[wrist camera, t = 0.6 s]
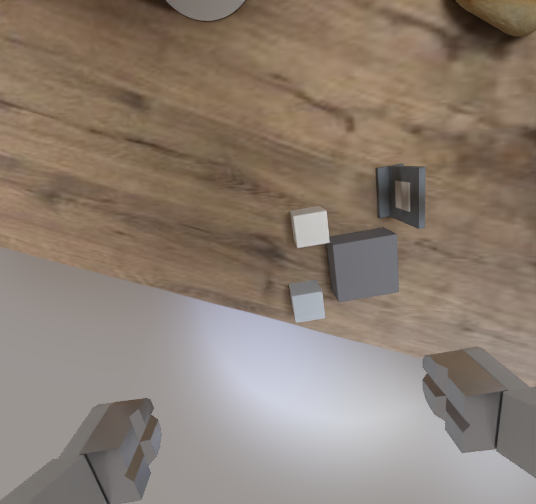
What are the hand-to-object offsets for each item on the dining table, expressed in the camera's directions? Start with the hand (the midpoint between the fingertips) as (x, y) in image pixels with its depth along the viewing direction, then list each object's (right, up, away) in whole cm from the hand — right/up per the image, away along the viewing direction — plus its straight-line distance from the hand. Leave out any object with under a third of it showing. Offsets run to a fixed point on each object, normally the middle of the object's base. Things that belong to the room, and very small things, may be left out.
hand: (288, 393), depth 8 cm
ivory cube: (+6, +9, +39) cm, 41 cm away
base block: (+15, +3, +42) cm, 45 cm away
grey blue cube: (+6, -3, +43) cm, 44 cm away
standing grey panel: (+19, +14, +38) cm, 45 cm away
